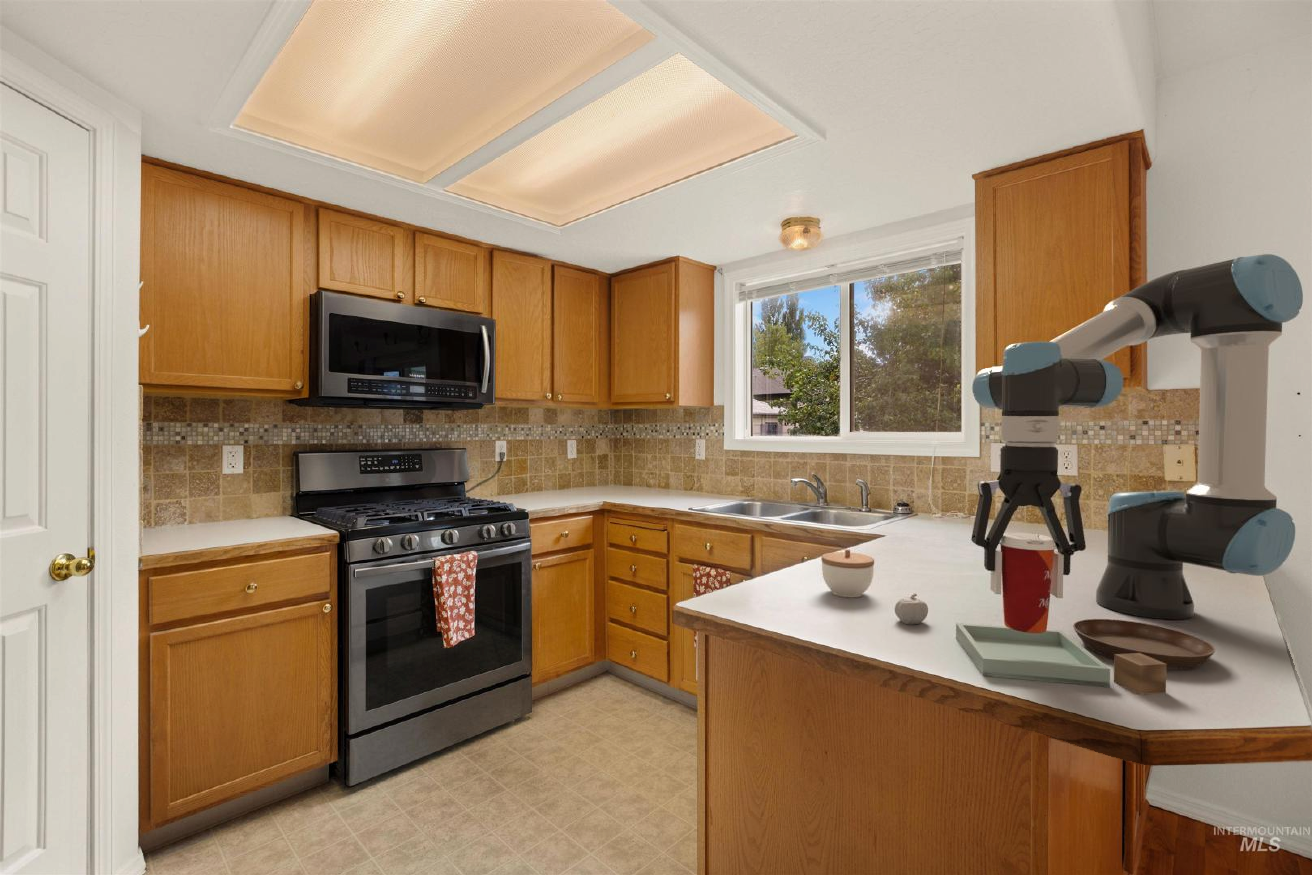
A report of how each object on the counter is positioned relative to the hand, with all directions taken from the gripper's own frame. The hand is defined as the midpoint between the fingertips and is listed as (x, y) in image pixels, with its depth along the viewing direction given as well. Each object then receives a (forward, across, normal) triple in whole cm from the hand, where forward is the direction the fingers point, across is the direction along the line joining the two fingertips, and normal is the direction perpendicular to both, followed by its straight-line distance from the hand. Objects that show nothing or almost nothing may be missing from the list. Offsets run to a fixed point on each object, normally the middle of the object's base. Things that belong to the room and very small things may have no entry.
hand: (1025, 593), depth 95 cm
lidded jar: (+11, -24, +32) cm, 41 cm away
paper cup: (+5, 0, 0) cm, 5 cm away
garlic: (+11, -14, +15) cm, 23 cm away
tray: (+10, 0, 0) cm, 10 cm away
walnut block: (+10, +12, -7) cm, 17 cm away
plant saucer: (+11, +19, +8) cm, 23 cm away
